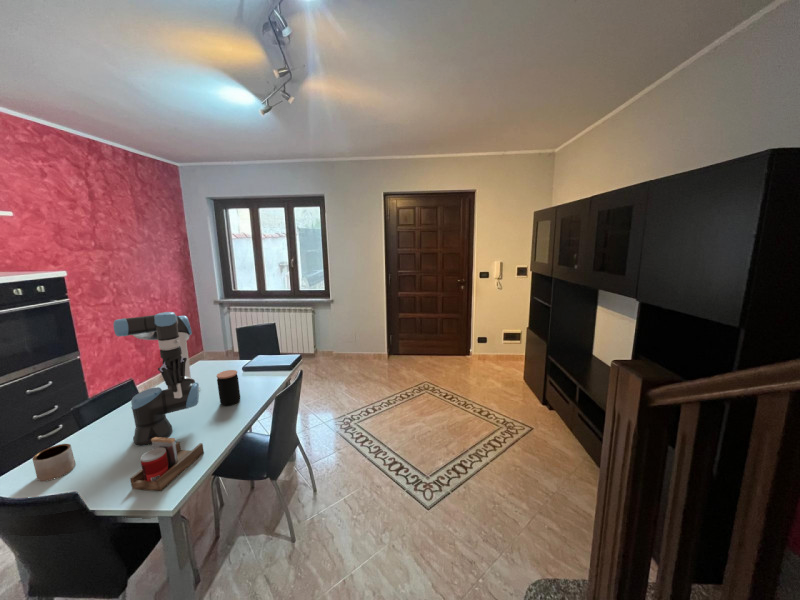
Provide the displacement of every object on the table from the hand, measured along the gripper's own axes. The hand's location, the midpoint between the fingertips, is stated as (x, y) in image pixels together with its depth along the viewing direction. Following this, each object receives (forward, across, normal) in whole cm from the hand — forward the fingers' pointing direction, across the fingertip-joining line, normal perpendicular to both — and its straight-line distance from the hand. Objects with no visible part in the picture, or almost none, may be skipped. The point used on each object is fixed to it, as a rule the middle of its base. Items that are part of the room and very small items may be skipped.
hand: (178, 397), depth 140 cm
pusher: (+23, -16, -6) cm, 29 cm away
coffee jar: (+25, +40, +6) cm, 47 cm away
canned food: (+24, -21, -6) cm, 32 cm away
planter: (+25, -21, +41) cm, 52 cm away
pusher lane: (+24, -15, -6) cm, 29 cm away
